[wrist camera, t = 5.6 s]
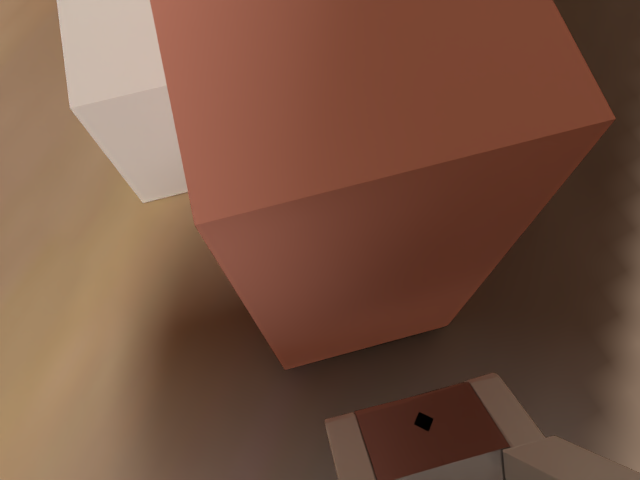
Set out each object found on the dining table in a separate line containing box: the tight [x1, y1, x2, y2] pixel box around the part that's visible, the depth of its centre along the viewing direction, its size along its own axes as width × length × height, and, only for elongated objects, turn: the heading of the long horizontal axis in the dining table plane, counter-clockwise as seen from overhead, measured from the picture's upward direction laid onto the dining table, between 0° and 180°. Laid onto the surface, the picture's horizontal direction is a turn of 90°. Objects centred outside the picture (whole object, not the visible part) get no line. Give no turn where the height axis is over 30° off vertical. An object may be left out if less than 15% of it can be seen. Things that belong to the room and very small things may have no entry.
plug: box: [150, 0, 616, 370], centre depth 12 cm, size 9×4×10 cm, turn 15°
